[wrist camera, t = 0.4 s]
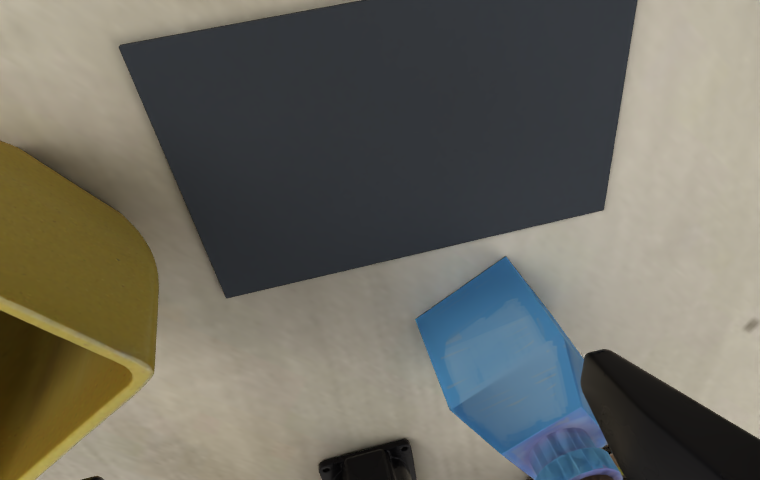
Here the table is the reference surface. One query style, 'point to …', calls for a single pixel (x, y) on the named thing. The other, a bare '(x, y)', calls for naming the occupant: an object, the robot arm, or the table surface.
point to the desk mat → (384, 127)
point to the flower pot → (66, 314)
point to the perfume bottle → (515, 377)
